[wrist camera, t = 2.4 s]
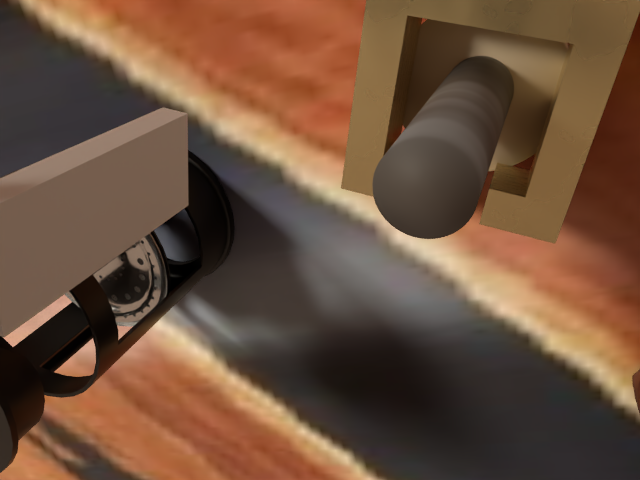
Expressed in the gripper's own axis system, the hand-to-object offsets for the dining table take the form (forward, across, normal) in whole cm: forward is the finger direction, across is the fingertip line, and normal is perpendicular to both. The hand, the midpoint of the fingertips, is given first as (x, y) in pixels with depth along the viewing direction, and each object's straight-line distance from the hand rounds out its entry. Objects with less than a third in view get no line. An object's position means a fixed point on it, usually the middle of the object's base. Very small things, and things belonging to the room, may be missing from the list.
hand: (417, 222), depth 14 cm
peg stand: (+14, 0, 0) cm, 14 cm away
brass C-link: (+12, 0, 0) cm, 12 cm away
